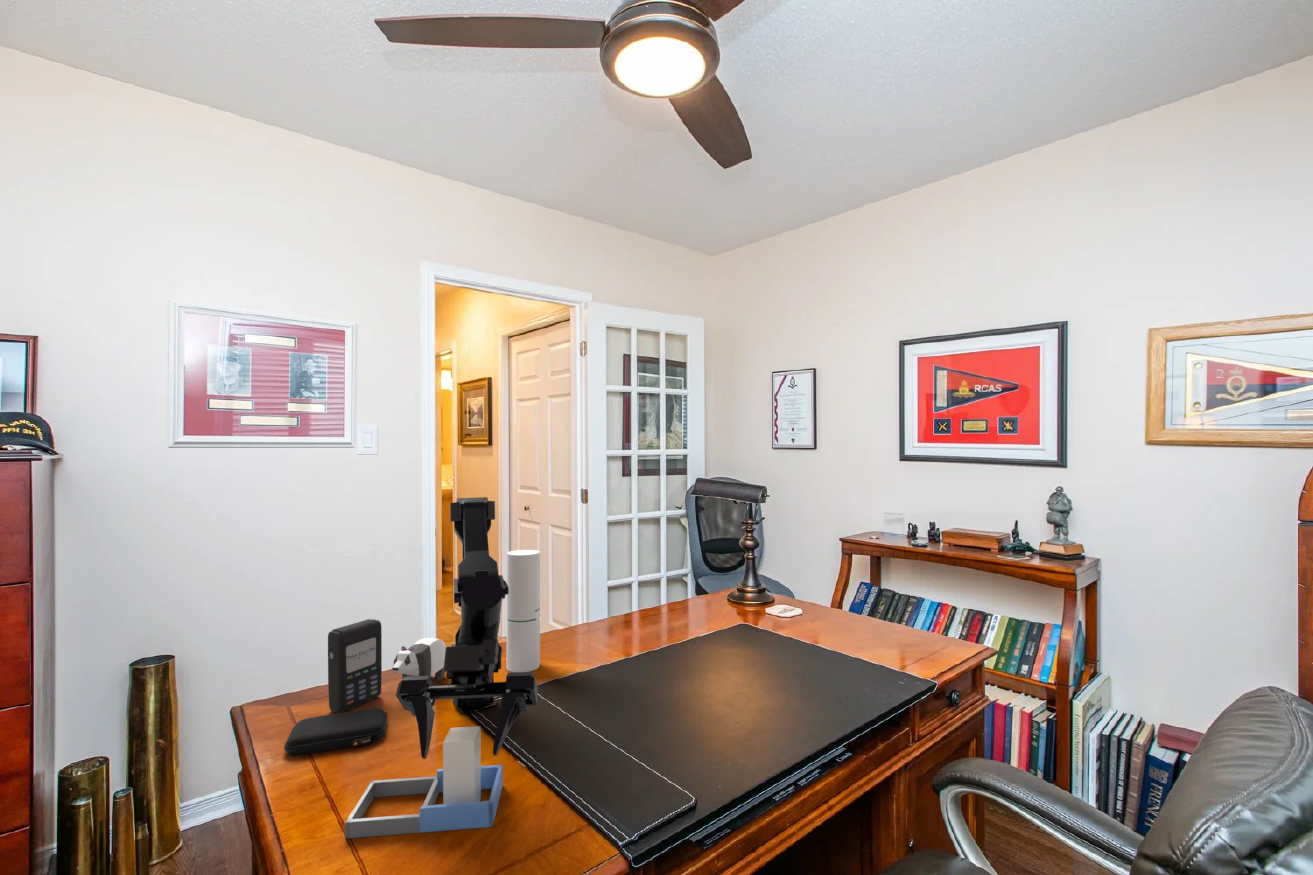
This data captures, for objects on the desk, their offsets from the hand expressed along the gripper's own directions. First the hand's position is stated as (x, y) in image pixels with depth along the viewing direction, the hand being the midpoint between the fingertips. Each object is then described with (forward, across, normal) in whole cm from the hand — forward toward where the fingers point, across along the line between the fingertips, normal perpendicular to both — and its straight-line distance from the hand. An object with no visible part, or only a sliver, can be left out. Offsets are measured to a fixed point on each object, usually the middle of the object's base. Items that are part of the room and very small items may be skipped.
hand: (459, 756), depth 79 cm
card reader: (-20, -28, +31) cm, 47 cm away
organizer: (+4, -4, +7) cm, 9 cm away
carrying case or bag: (-10, -26, +22) cm, 35 cm away
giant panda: (-25, -19, +37) cm, 48 cm away
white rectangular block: (+4, 0, +7) cm, 8 cm away
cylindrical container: (-31, +1, +42) cm, 53 cm away
